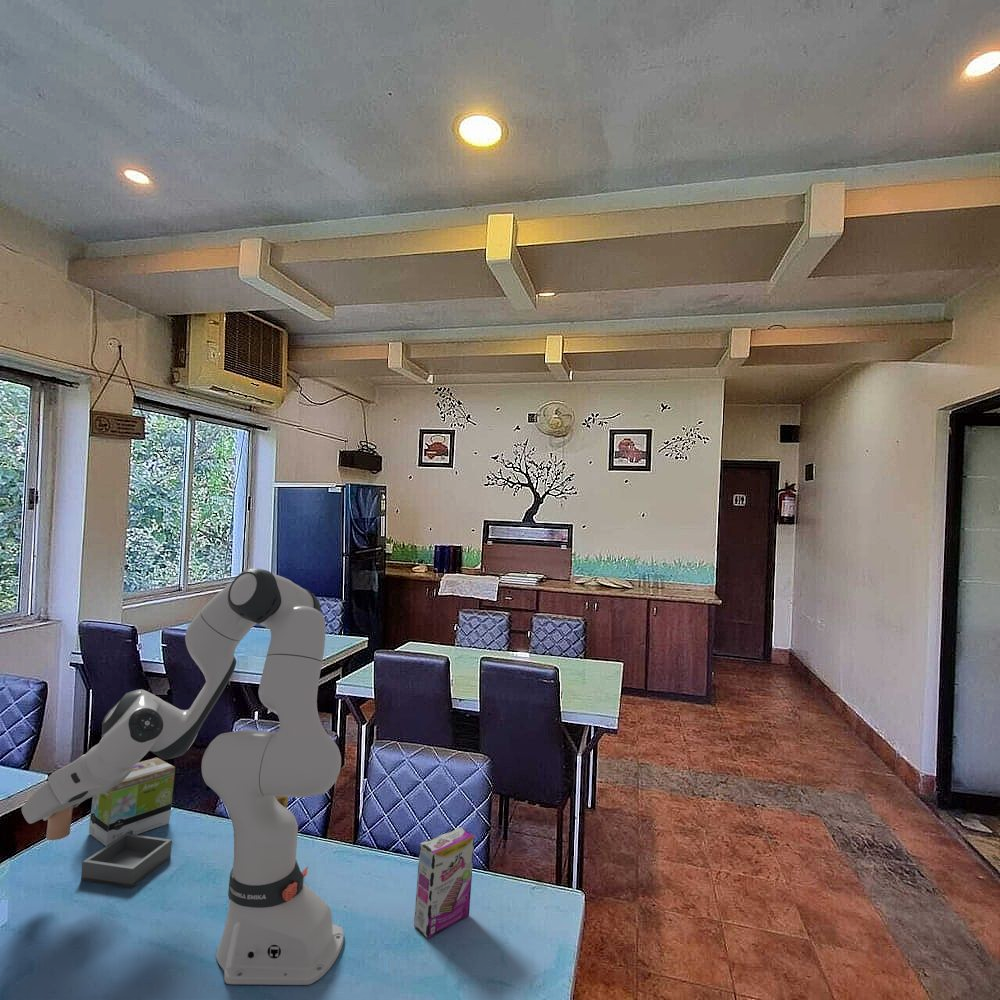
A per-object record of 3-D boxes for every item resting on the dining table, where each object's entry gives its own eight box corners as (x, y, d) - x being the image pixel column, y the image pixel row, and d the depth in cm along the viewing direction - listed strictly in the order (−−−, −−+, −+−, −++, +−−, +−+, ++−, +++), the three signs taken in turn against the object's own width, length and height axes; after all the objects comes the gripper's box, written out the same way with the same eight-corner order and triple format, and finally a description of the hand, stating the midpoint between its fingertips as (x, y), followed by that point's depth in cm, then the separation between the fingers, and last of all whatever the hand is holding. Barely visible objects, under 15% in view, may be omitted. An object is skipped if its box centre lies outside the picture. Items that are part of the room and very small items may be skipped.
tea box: (106, 848, 136) (112, 784, 137) (87, 834, 142) (93, 773, 143) (171, 823, 149) (176, 765, 150) (151, 811, 154) (156, 755, 155)
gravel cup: (74, 831, 123) (79, 788, 124) (58, 841, 119) (62, 796, 120) (58, 829, 123) (62, 786, 124) (41, 838, 119) (45, 793, 120)
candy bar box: (428, 940, 111) (433, 853, 112) (413, 927, 115) (418, 842, 116) (471, 916, 119) (475, 834, 120) (455, 904, 123) (460, 825, 124)
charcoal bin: (170, 857, 134) (172, 839, 134) (131, 888, 122) (132, 869, 122) (124, 850, 136) (125, 833, 136) (80, 880, 124) (82, 861, 124)
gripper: (135, 741, 131) (97, 779, 132) (42, 776, 111) (-1, 819, 113) (149, 765, 129) (110, 802, 131) (58, 804, 109) (14, 847, 111)
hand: (58, 810), depth 122 cm, fingers closed on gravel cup, 4 cm apart
